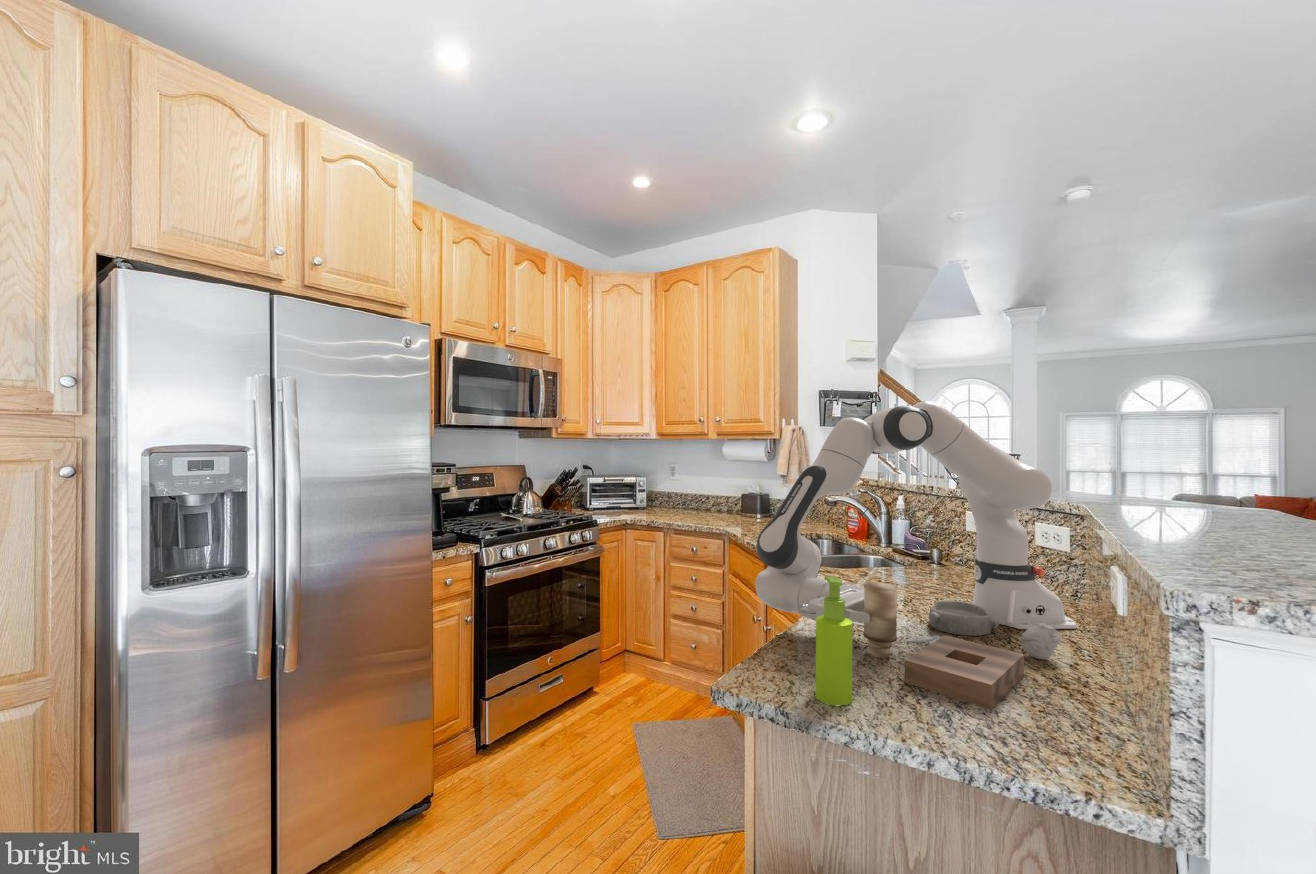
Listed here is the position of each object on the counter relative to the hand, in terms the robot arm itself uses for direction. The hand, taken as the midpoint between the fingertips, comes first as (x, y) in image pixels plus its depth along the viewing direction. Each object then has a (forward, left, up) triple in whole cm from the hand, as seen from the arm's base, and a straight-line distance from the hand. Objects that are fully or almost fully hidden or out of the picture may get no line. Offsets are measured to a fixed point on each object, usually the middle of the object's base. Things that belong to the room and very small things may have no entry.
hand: (881, 613), depth 113 cm
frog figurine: (-32, -3, -9) cm, 33 cm away
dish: (-24, -21, -9) cm, 33 cm away
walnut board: (-12, +10, -8) cm, 18 cm away
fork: (-4, -16, -9) cm, 19 cm away
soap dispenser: (+14, +21, -9) cm, 27 cm away
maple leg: (0, 0, -8) cm, 8 cm away
